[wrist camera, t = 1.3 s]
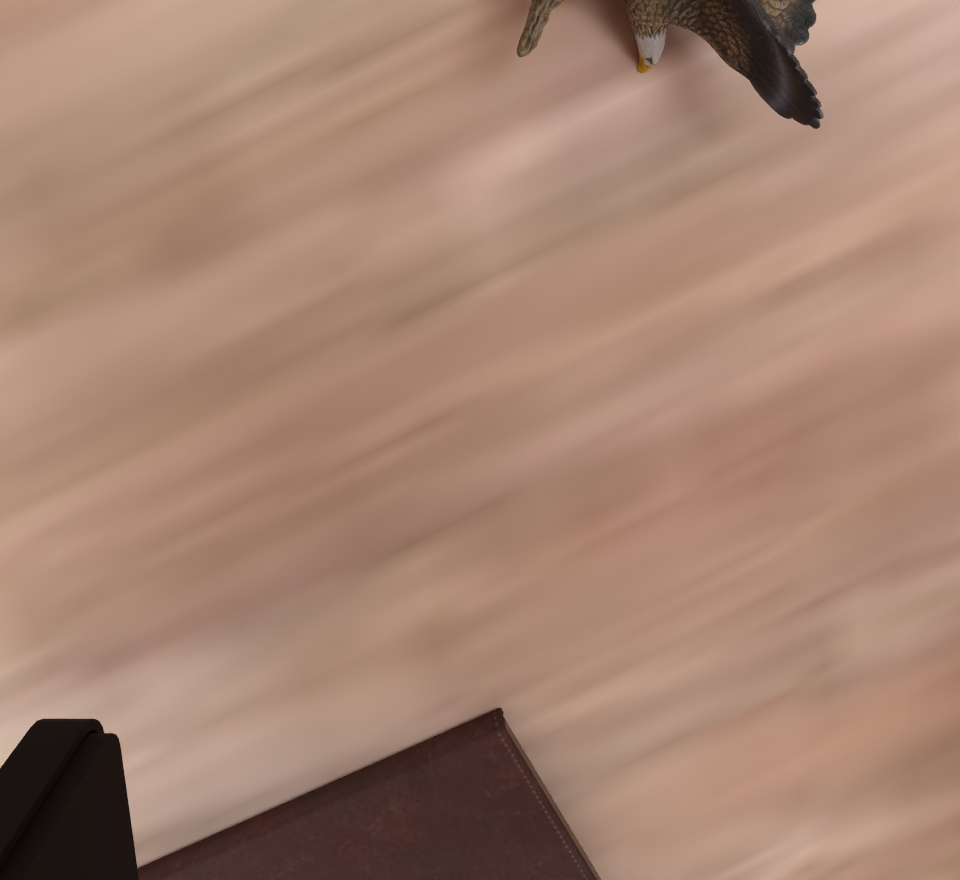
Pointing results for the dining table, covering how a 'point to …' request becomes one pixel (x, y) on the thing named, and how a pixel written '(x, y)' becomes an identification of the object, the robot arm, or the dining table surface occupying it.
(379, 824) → the notebook
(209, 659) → the dining table surface
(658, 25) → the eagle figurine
